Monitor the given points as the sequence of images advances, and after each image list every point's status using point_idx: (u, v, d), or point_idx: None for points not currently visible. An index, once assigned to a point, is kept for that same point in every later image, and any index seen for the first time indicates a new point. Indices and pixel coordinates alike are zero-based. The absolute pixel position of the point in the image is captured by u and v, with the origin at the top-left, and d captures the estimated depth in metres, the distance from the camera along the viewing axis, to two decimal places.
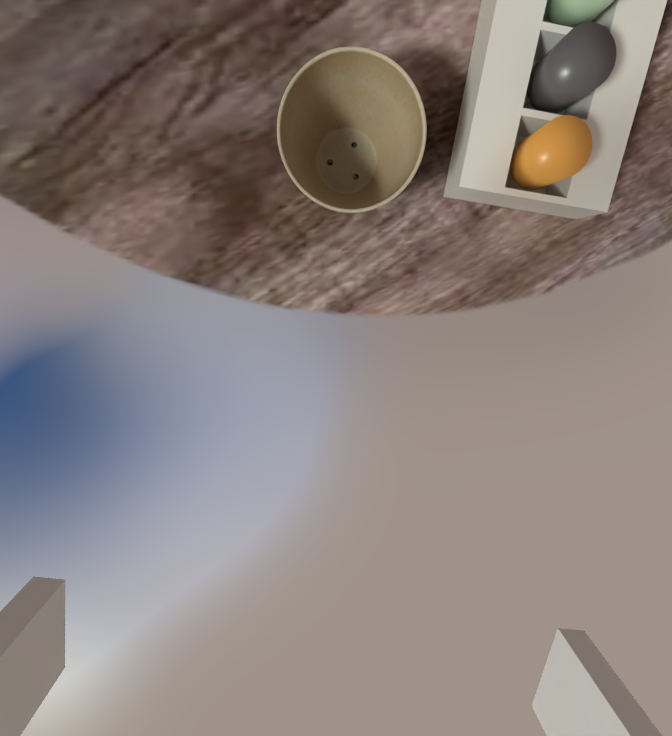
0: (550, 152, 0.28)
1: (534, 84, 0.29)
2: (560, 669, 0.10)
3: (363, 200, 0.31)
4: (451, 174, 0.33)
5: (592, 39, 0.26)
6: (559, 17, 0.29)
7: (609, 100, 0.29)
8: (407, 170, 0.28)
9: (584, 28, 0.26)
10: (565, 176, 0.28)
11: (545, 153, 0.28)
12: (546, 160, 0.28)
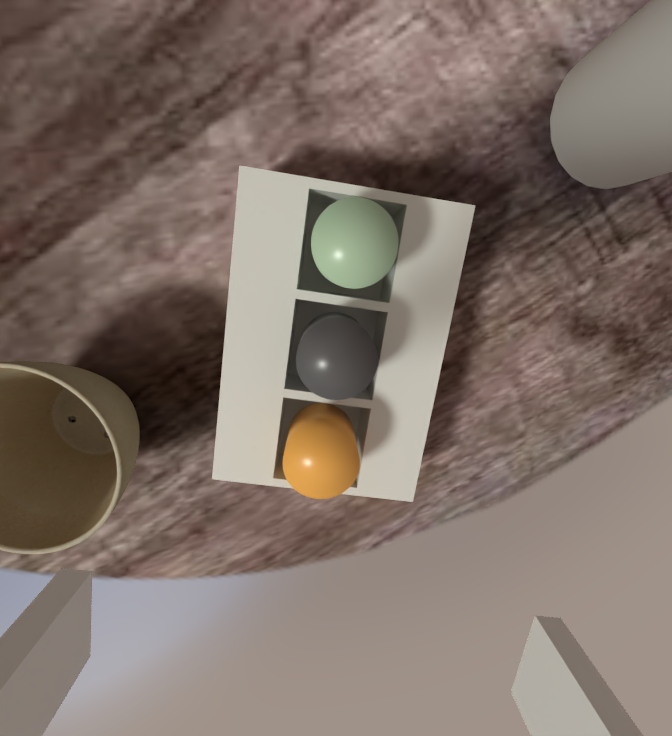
0: (303, 470, 0.21)
1: None
2: (537, 655, 0.11)
3: (101, 483, 0.24)
4: None
5: (341, 339, 0.19)
6: (325, 277, 0.21)
7: (399, 378, 0.22)
8: None
9: (328, 326, 0.19)
10: (328, 496, 0.21)
11: (296, 471, 0.21)
12: (299, 479, 0.21)
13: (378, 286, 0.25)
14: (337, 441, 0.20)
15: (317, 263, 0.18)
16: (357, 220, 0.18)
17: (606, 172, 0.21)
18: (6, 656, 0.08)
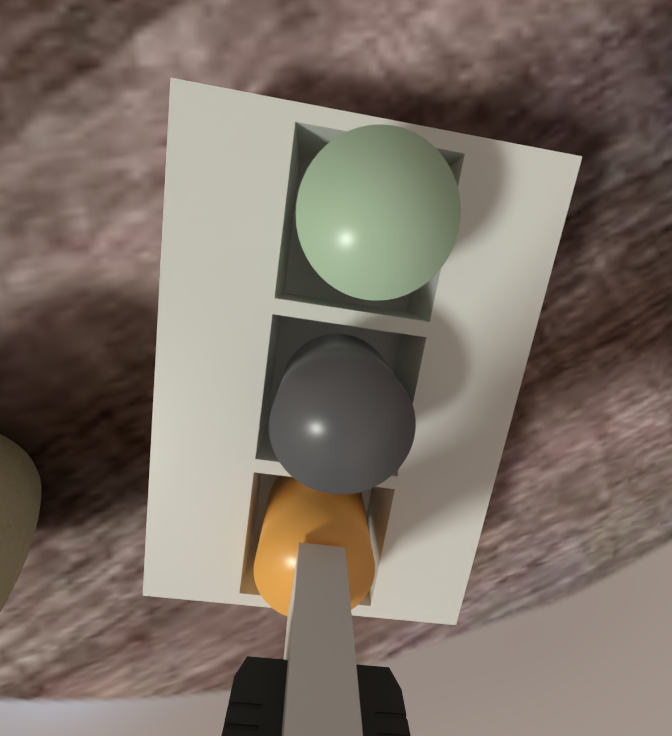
0: (286, 580, 0.13)
1: None
2: None
3: None
4: None
5: (352, 392, 0.11)
6: None
7: (442, 442, 0.14)
8: None
9: (327, 369, 0.10)
10: None
11: (276, 582, 0.13)
12: (280, 594, 0.13)
13: None
14: (340, 537, 0.13)
15: (307, 253, 0.10)
16: (384, 169, 0.09)
17: None
18: (309, 604, 0.10)
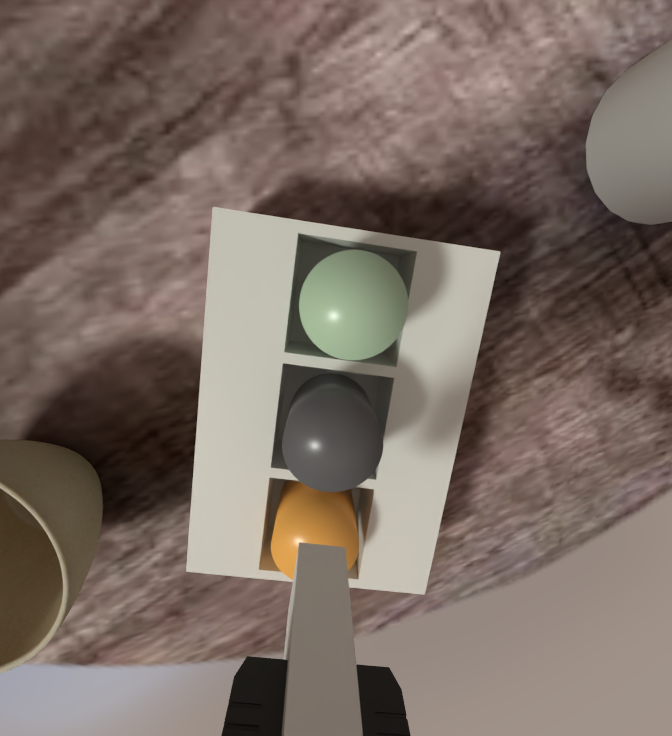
0: (294, 554, 0.18)
1: None
2: None
3: (57, 571, 0.21)
4: None
5: (338, 421, 0.15)
6: None
7: (408, 453, 0.19)
8: None
9: (321, 405, 0.15)
10: None
11: (287, 555, 0.18)
12: (290, 564, 0.18)
13: None
14: (333, 522, 0.18)
15: (307, 330, 0.15)
16: (356, 277, 0.14)
17: (657, 209, 0.18)
18: (309, 604, 0.10)
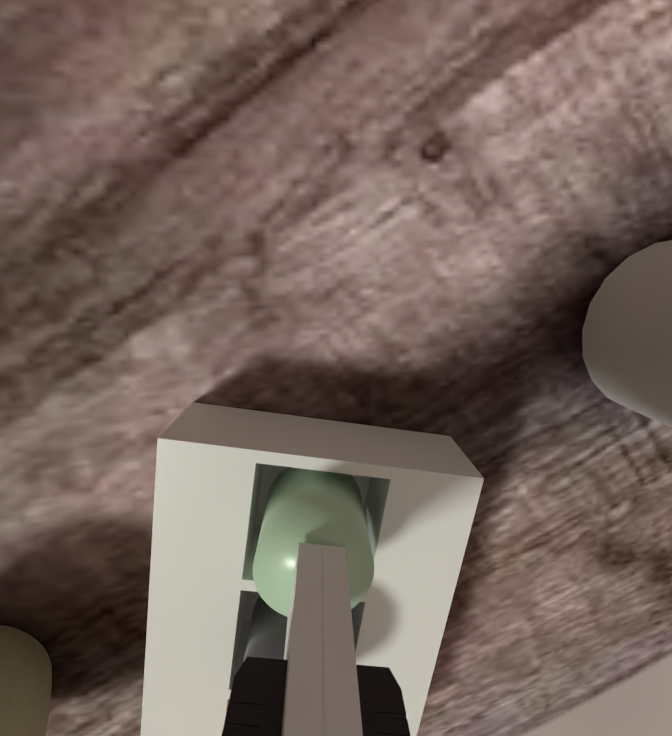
0: None
1: None
2: None
3: None
4: None
5: None
6: None
7: None
8: None
9: None
10: None
11: None
12: None
13: None
14: None
15: (262, 594, 0.13)
16: None
17: (659, 421, 0.16)
18: (309, 604, 0.10)
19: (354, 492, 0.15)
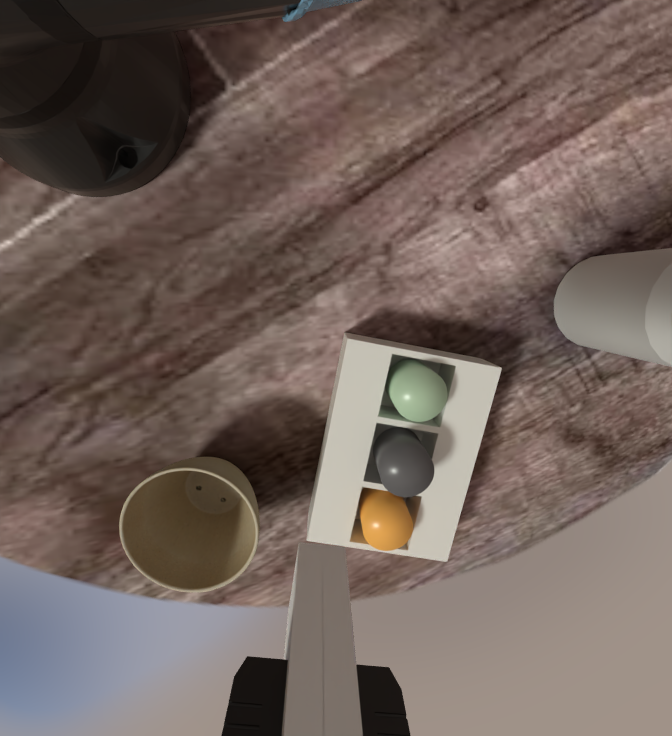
0: (375, 532, 0.31)
1: (375, 459, 0.32)
2: None
3: (222, 538, 0.34)
4: (310, 505, 0.35)
5: (411, 459, 0.29)
6: None
7: (443, 476, 0.32)
8: (250, 543, 0.31)
9: (403, 450, 0.29)
10: (390, 549, 0.32)
11: (371, 532, 0.31)
12: (372, 537, 0.31)
13: None
14: (399, 514, 0.31)
15: (396, 406, 0.29)
16: (423, 382, 0.29)
17: (590, 346, 0.31)
18: (309, 604, 0.10)
19: None
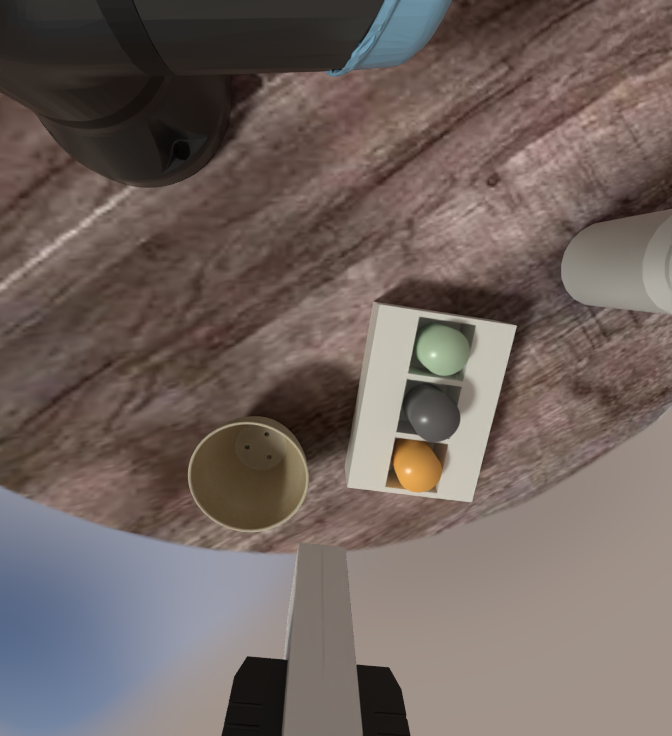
0: (409, 475, 0.36)
1: (405, 412, 0.36)
2: None
3: (272, 489, 0.38)
4: (347, 458, 0.39)
5: (440, 407, 0.33)
6: None
7: (467, 425, 0.36)
8: (299, 489, 0.35)
9: (433, 400, 0.33)
10: (422, 490, 0.36)
11: (405, 476, 0.36)
12: (406, 481, 0.36)
13: None
14: (429, 459, 0.35)
15: (425, 362, 0.33)
16: (448, 339, 0.33)
17: (595, 303, 0.35)
18: (309, 604, 0.10)
19: None
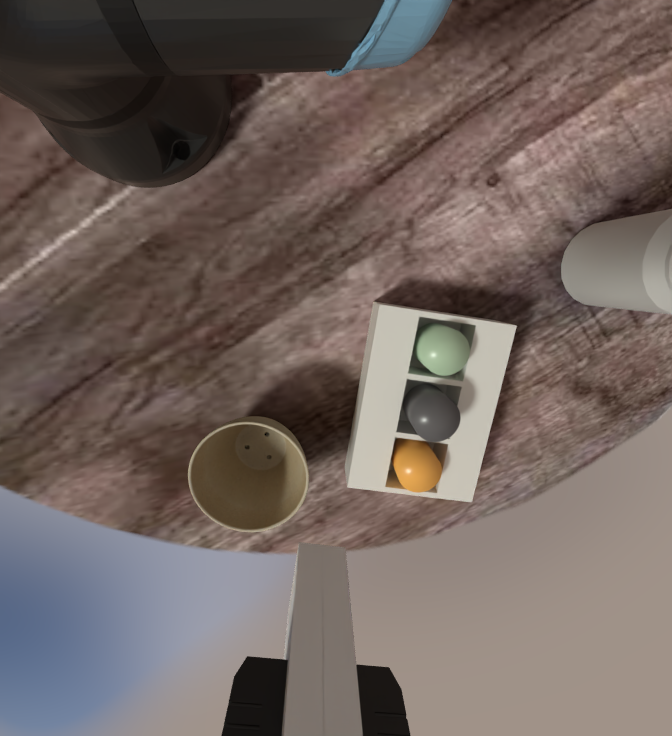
0: (409, 475, 0.36)
1: (405, 412, 0.36)
2: None
3: (272, 489, 0.38)
4: (347, 458, 0.39)
5: (440, 407, 0.33)
6: None
7: (467, 425, 0.36)
8: (299, 489, 0.35)
9: (433, 400, 0.33)
10: (422, 490, 0.36)
11: (405, 476, 0.36)
12: (406, 481, 0.36)
13: None
14: (429, 459, 0.35)
15: (425, 362, 0.33)
16: (448, 339, 0.33)
17: (595, 303, 0.35)
18: (309, 604, 0.10)
19: None
